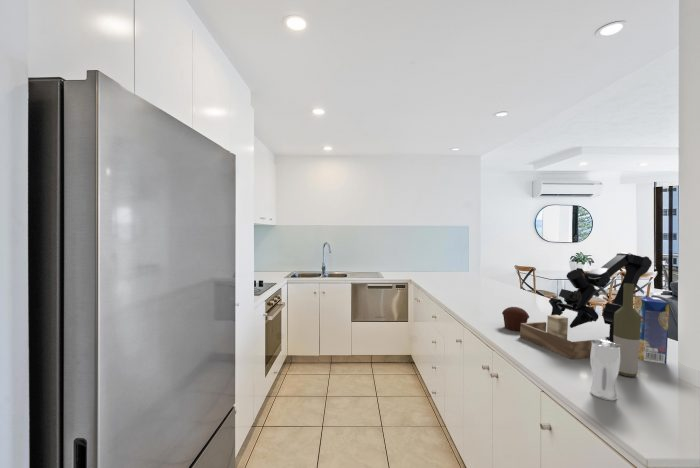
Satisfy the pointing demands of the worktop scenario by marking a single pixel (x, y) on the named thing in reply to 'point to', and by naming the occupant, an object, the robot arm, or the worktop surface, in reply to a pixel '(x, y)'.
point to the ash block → (557, 326)
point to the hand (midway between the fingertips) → (560, 323)
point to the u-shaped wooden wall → (554, 341)
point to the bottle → (627, 333)
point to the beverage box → (653, 328)
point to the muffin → (514, 318)
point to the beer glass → (604, 368)
